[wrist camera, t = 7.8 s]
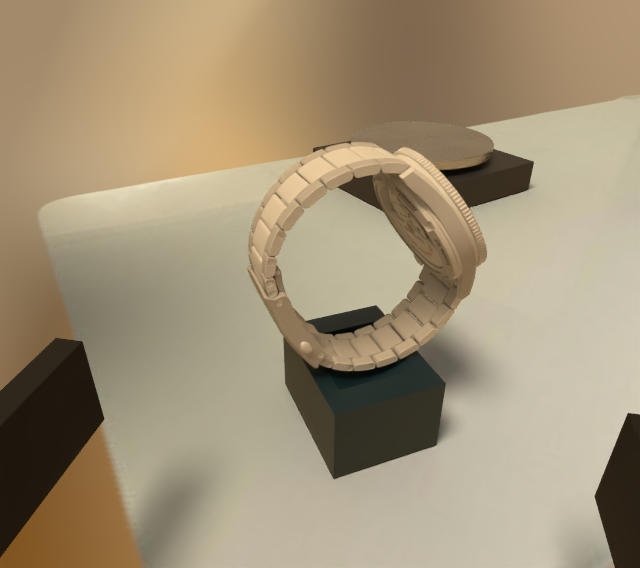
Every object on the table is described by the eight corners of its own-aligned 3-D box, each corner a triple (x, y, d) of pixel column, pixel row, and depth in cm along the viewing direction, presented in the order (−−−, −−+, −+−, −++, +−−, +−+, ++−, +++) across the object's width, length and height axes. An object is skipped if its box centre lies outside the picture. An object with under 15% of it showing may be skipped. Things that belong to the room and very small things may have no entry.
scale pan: (414, 181, 38) (415, 170, 37) (323, 142, 46) (323, 133, 46) (522, 154, 43) (524, 144, 43) (424, 123, 51) (425, 115, 51)
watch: (478, 431, 21) (535, 162, 16) (287, 493, 19) (273, 199, 13) (408, 350, 26) (433, 119, 20) (246, 392, 23) (223, 140, 18)
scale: (409, 225, 38) (412, 192, 37) (312, 174, 48) (312, 146, 46) (528, 189, 44) (534, 160, 43) (421, 150, 54) (424, 125, 52)
